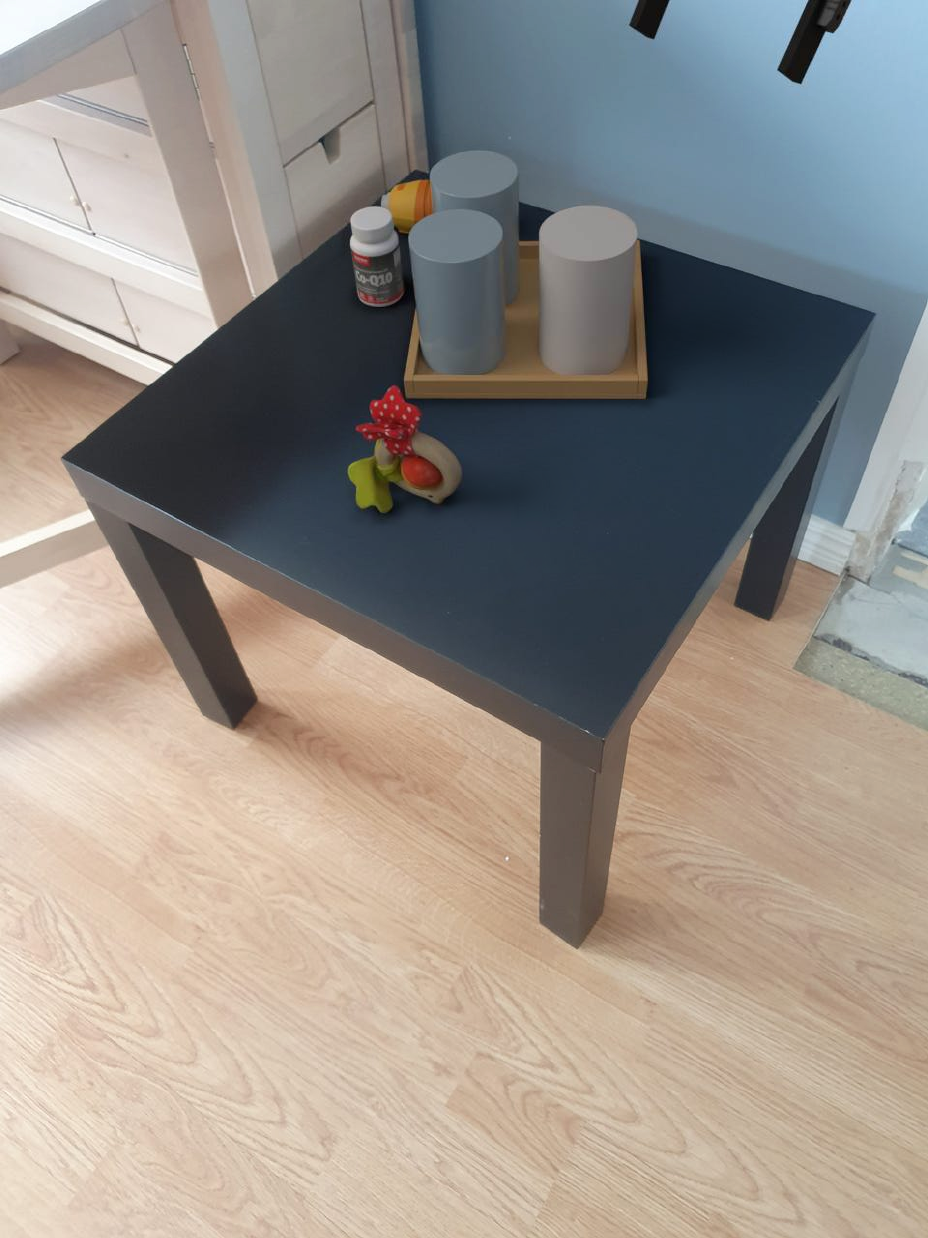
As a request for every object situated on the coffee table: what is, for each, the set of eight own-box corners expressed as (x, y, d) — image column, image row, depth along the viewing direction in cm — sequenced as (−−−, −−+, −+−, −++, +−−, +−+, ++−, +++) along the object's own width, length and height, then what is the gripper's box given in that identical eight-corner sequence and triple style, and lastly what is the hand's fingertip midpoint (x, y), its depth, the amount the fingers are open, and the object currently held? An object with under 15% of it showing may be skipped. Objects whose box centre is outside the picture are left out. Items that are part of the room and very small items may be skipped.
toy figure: (380, 243, 106) (491, 248, 104) (372, 194, 102) (488, 199, 100) (392, 215, 109) (499, 220, 107) (385, 167, 105) (497, 170, 103)
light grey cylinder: (640, 335, 93) (652, 217, 84) (607, 387, 89) (615, 269, 79) (560, 314, 96) (563, 197, 86) (524, 364, 92) (523, 247, 82)
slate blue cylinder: (504, 322, 96) (501, 205, 86) (508, 376, 91) (504, 259, 81) (421, 326, 96) (409, 211, 86) (420, 381, 91) (407, 265, 81)
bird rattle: (450, 490, 86) (354, 444, 85) (496, 408, 77) (389, 356, 76) (428, 543, 83) (328, 497, 82) (473, 464, 74) (362, 410, 72)
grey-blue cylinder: (521, 264, 101) (520, 148, 92) (518, 312, 96) (516, 196, 87) (443, 265, 102) (433, 150, 92) (436, 313, 97) (425, 197, 87)
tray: (637, 257, 102) (639, 239, 100) (645, 399, 89) (647, 380, 87) (428, 260, 104) (426, 241, 102) (406, 398, 91) (403, 380, 89)
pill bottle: (354, 307, 99) (340, 231, 93) (363, 279, 102) (350, 203, 95) (400, 309, 99) (390, 232, 92) (408, 280, 102) (399, 204, 95)
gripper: (1057, -247, 62) (877, 114, 70) (729, -277, 74) (612, 32, 83) (1030, -321, 56) (839, 81, 65) (681, -340, 69) (560, -2, 77)
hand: (711, 54), depth 74 cm, fingers open, 13 cm apart
